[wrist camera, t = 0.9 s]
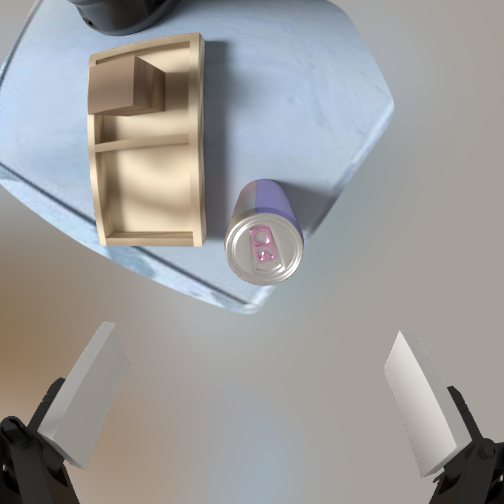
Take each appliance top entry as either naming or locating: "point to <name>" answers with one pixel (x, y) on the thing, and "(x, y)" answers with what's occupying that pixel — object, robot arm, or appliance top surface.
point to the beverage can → (263, 235)
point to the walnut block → (126, 88)
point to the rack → (153, 154)
